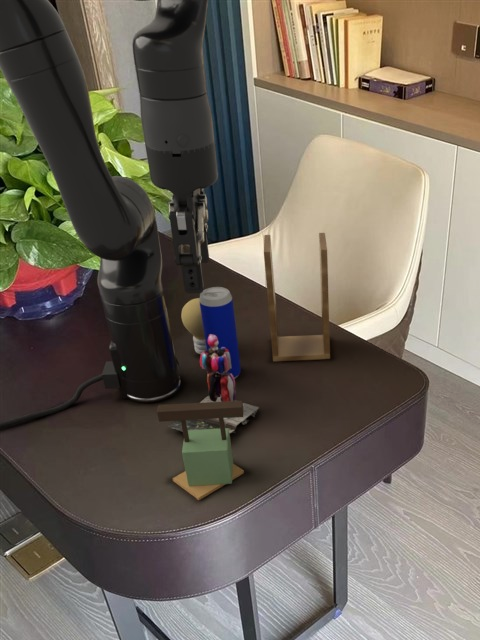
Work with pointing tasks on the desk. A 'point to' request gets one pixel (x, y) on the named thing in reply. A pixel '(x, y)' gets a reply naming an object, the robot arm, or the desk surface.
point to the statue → (217, 389)
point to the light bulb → (194, 324)
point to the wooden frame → (298, 345)
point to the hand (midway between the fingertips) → (197, 276)
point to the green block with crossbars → (205, 440)
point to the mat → (203, 490)
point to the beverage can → (220, 322)
